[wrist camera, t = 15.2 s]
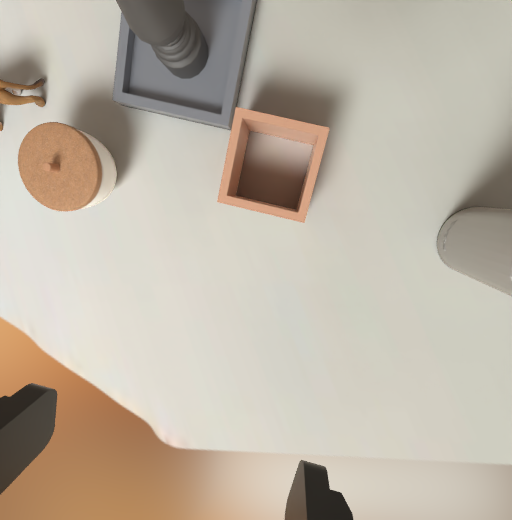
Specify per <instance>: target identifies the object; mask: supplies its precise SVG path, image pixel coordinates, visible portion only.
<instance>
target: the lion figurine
mask: <svg viewBox="0 0 512 520" xmlns="http://www.w3.org/2000/svg"><path fill="white" fill-rule="evenodd" d="M43 84H44V79H42V78H41V79H39V80H38V81H37V82H35V83H34V84H33V85H29V86H27V85H19V84H14V83H9V82H5V81H3V80H1V79H0V103H2V104H7V105H22V104H27V103H32V102H35V103H36V105H38V106H40V107H43V106H44V105H45V101H44V100H43V98H41V97H39V96H32V95H30V96H17V95H20V94H21V89H25V90H31V89H36V88H38V87H40V86H43ZM8 89H10V90H12V92H13V94H15V95H13V94H12V93H10V92H8V91H6V90H8ZM2 129H3V125H2V123H1V122H0V131H2Z"/></svg>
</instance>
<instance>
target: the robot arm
mask: <svg viewBox="0 0 512 520" xmlns="http://www.w3.org/2000/svg"><path fill="white" fill-rule="evenodd" d="M437 249H438V253H439V255H440V258H441V259H442V261H443V262H444V263H445V264H446V265H447V266H448V267H450V268H451V269H454V270H456V271H458V272H460V273H462V274H464V275H467V276H468V277H471V278H473V279H475V280H477V281H479V282H482V283H484V284H486V285H488V286H490V287H493V288H495V289H497V290H499V291H501V292H504V293H506V294H508V295H510V296H512V209H503V208H489V207H471V208H466V209H464V210H461V211H459V212H457V213H455V214H454V215H452V216H451V217H450V218H449V219H448V220H447V221H446V222H445V223H444V225H443V226H442V228H441V230H440V232H439V235H438V239H437ZM56 402H57V391H56V390H55V389H51V388H47V387H44V386H40V385H37V384H33V383H31V384H28V385H26V386H25V387H23V388H22V389H21V390H19V391H18V392H16V393H15V394H14V395H12V396H11V397H7V396H3V397H1V398H0V494H1V493H2V492H3V491H4V490H5V489H6V488H7V487H8V486H9V485H10V484H11V483H12V482H13V481H14V480H15V479H16V478H17V477H18V476H19V475H20V474H21V472H22V471H23V470H24V469H25V468H26V467H27V466H28V465H29V464H30V463H31V462H32V461H33V460H34V459H35V458H36V457H37V456H38V455H39V454H40V453H41V452H42V450H43V449H44V448H45V446H46V445H47V444H48V442H49V441H50V439H51V436H52V434H53V432H54V427H55V415H56ZM285 520H353V516H352V512H351V510H350V508H349V507H348V505H347V503H346V501H345V499H344V497H343V495H342V493H340V492H337V491H333V490H330V489H329V481H328V475H327V470H326V468H325V467H324V466H321V465H317V464H314V463H310V462H307V461H303V460H301V461H300V463H299V465H298V468H297V471H296V474H295V478H294V480H293V484H292V487H291V490H290V493H289V496H288V499H287V505H286V511H285Z"/></svg>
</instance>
